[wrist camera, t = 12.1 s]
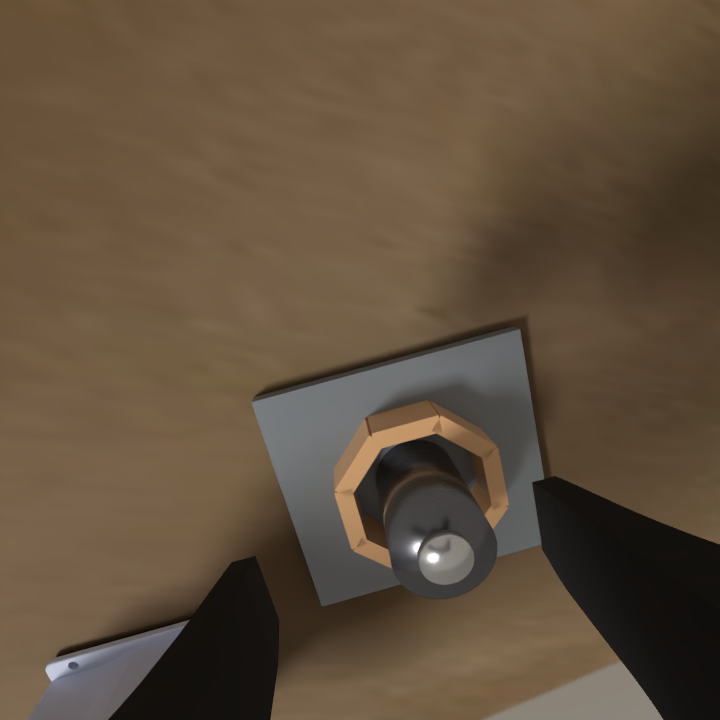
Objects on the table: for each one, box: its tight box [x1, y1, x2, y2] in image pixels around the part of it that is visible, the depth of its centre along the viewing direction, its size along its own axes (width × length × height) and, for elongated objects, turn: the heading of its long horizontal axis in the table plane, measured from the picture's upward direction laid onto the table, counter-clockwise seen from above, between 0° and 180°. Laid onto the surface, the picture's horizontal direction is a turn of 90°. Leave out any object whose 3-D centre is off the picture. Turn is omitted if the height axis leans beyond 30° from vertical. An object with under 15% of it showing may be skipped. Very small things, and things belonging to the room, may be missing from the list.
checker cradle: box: [251, 327, 544, 607], centre depth 20 cm, size 13×12×3 cm
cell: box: [376, 440, 497, 599], centre depth 18 cm, size 4×4×6 cm
